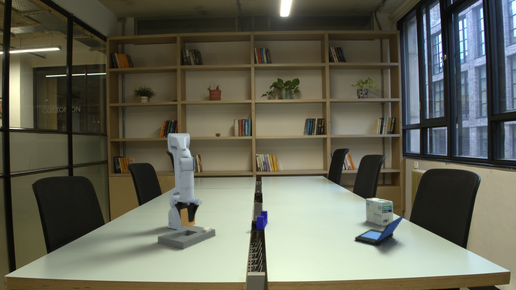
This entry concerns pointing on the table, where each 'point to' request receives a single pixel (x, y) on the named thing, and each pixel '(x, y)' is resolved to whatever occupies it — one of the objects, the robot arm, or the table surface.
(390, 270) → the table surface
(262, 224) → the cable clip
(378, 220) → the light bulb box
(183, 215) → the plug
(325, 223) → the table surface
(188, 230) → the socket plate
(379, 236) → the handheld game console
